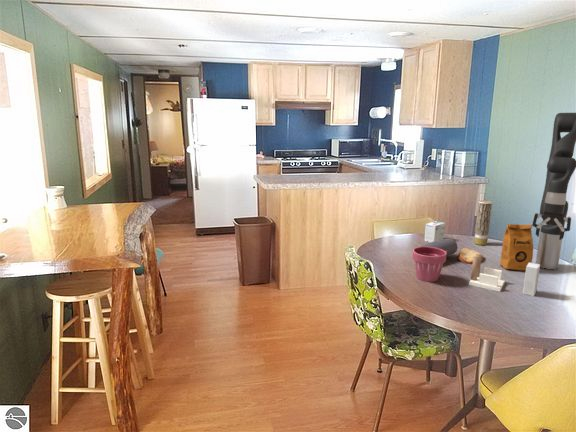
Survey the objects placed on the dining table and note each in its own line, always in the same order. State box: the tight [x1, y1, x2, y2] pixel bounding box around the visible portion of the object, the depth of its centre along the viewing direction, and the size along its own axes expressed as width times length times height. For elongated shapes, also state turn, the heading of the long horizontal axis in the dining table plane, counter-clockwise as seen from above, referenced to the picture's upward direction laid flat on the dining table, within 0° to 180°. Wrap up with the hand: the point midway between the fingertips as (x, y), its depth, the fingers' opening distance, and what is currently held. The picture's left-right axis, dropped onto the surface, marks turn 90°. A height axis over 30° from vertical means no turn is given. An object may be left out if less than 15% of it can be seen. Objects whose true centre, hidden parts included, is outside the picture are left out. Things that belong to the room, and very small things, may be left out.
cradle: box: [468, 253, 506, 292], centre depth 173 cm, size 12×12×12 cm
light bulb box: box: [424, 220, 446, 243], centre depth 238 cm, size 11×7×11 cm, turn 130°
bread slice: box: [457, 247, 484, 265], centre depth 209 cm, size 18×18×4 cm
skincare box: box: [522, 262, 541, 297], centre depth 164 cm, size 6×4×12 cm
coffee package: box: [499, 223, 534, 272], centre depth 191 cm, size 10×12×22 cm
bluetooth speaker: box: [420, 238, 458, 258], centre depth 204 cm, size 23×9×10 cm, turn 126°
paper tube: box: [474, 200, 493, 246], centre depth 230 cm, size 7×7×25 cm
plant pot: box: [412, 246, 448, 283], centre depth 179 cm, size 14×14×13 cm
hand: (548, 237), depth 181 cm, fingers open, 8 cm apart
